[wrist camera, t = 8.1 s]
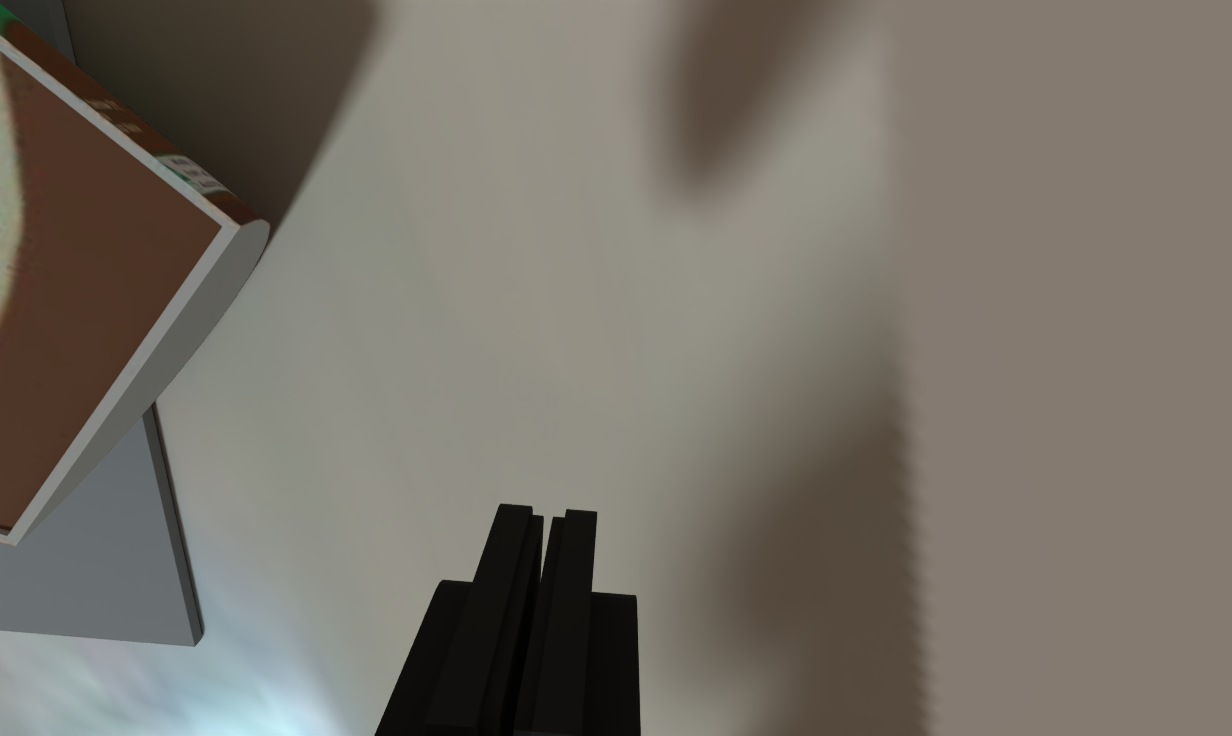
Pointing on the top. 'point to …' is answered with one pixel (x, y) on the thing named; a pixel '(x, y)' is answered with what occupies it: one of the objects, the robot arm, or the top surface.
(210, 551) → the top surface
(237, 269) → the food container
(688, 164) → the top surface
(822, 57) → the top surface
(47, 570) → the rubber mat
